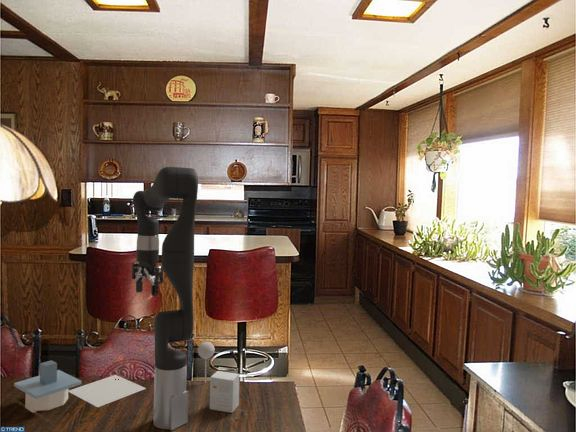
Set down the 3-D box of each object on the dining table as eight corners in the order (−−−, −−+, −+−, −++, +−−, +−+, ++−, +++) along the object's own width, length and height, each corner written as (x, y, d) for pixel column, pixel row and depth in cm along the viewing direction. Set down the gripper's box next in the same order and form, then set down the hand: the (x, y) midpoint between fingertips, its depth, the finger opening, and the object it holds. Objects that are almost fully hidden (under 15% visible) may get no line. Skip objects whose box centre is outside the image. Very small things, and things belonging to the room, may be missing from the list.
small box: (239, 405, 145) (240, 373, 144) (232, 413, 139) (233, 380, 139) (216, 401, 147) (217, 370, 146) (208, 409, 141) (209, 376, 141)
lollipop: (215, 380, 163) (217, 340, 163) (211, 387, 158) (212, 345, 157) (199, 379, 164) (200, 338, 163) (194, 385, 158) (195, 344, 158)
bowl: (73, 402, 142) (73, 384, 142) (37, 415, 133) (37, 396, 133) (55, 393, 149) (56, 375, 148) (20, 404, 140) (20, 386, 139)
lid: (81, 384, 142) (82, 362, 142) (35, 399, 131) (36, 375, 131) (58, 372, 151) (59, 352, 150) (14, 386, 139) (14, 364, 139)
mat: (146, 390, 153) (146, 388, 153) (97, 409, 139) (97, 407, 139) (115, 376, 164) (115, 374, 164) (67, 392, 149) (67, 390, 149)
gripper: (169, 249, 156) (168, 295, 156) (144, 245, 164) (143, 289, 165) (151, 250, 150) (150, 298, 150) (126, 246, 158) (125, 292, 159)
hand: (146, 293), depth 157 cm, fingers open, 8 cm apart
